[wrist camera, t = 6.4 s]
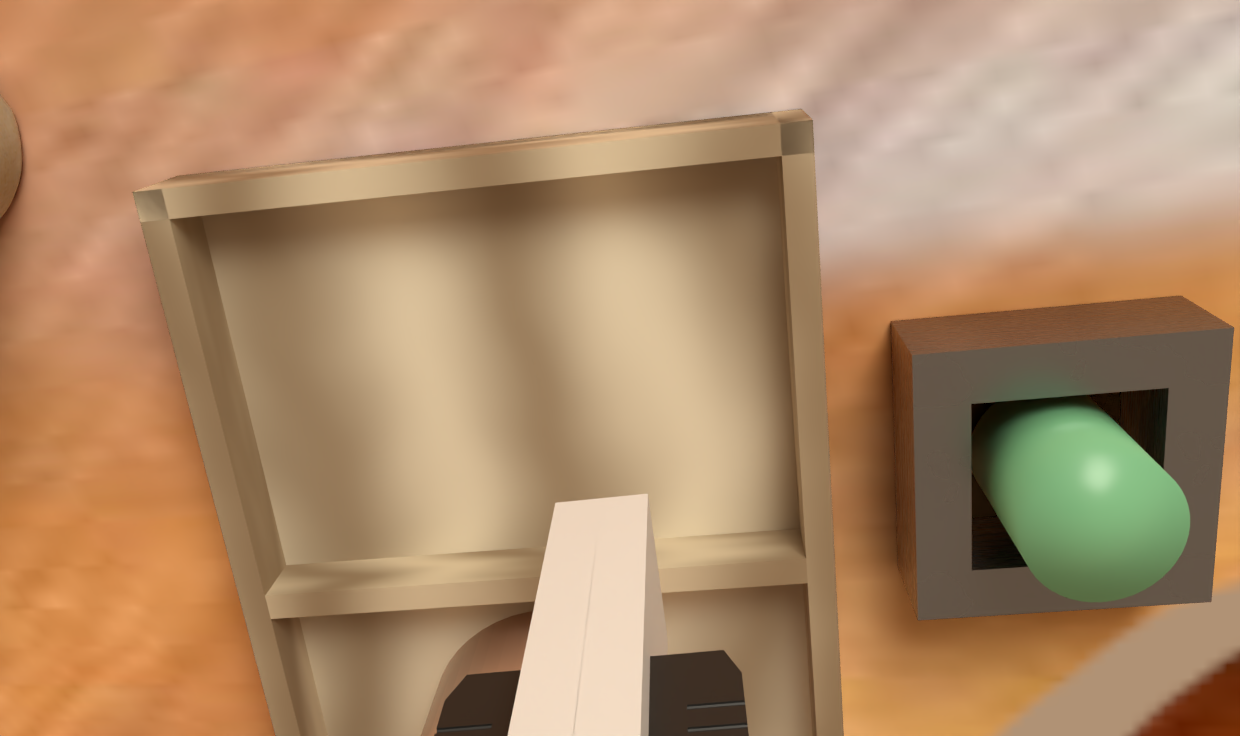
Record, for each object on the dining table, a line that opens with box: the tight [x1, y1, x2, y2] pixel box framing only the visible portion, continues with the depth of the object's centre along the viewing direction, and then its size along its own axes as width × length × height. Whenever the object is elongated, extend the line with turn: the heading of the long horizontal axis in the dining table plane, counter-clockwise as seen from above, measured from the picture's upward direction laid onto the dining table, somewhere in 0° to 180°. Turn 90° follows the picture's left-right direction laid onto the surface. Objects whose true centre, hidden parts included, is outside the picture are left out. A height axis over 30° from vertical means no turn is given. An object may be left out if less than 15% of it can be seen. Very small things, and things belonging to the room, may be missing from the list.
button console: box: [891, 296, 1234, 620], centre depth 30 cm, size 8×8×3 cm
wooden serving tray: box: [133, 109, 844, 736], centre depth 32 cm, size 18×25×3 cm
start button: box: [971, 395, 1190, 602], centre depth 28 cm, size 4×4×5 cm
